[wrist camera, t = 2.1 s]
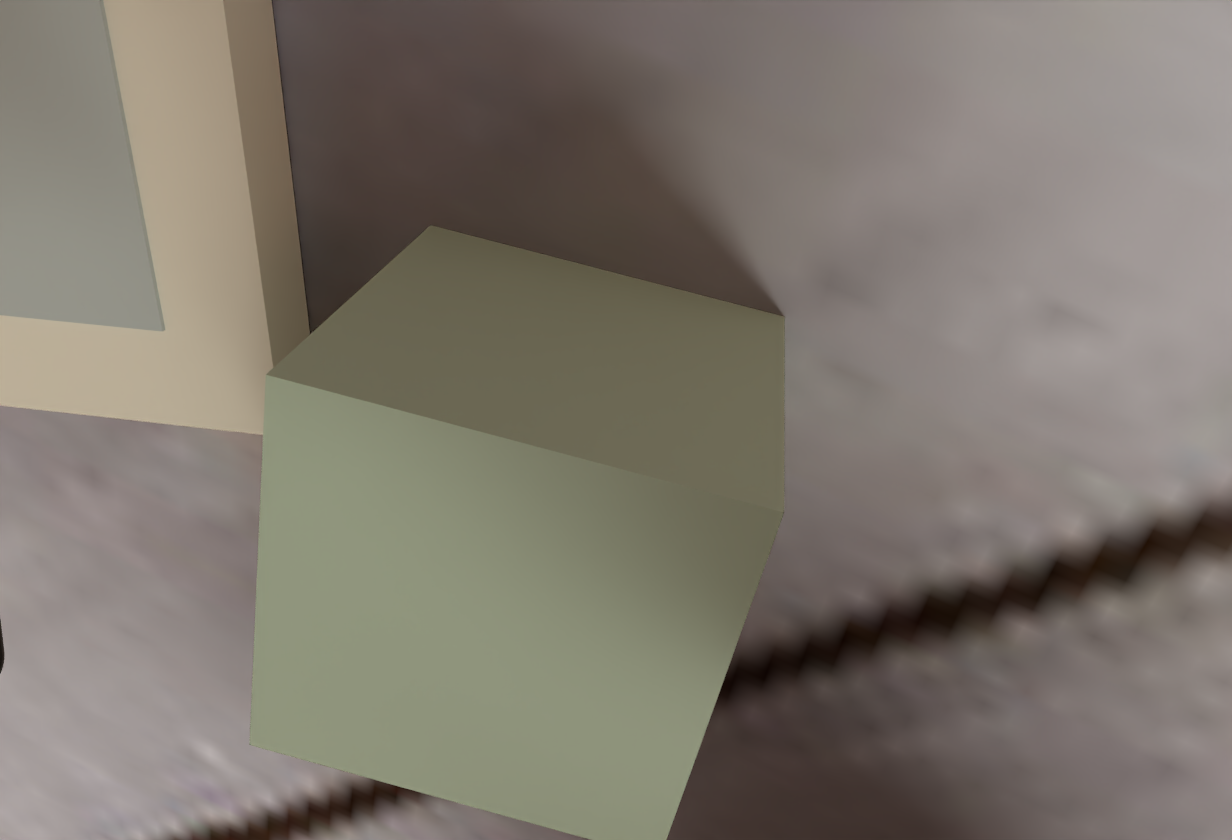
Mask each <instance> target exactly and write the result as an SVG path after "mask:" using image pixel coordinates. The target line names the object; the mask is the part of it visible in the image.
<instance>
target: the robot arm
mask: <svg viewBox="0 0 1232 840" xmlns="http://www.w3.org/2000/svg"><path fill="white" fill-rule="evenodd" d="M3 663H4V646H3V637H2V629H1V620H0V673H1V670H2V667H3Z"/></svg>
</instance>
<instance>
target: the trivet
mask: <svg viewBox="0 0 1232 840" xmlns="http://www.w3.org/2000/svg"><path fill="white" fill-rule="evenodd" d="M309 335H310V329H309V321H308V312H307V303H306V295H305V286H304V277H303V269H302V260H301V251H300V243H299V234H298V225H297V216H296V208H295V199H294V190H293V182H292V173H291V164H290V156H289V147H288V138H287V130H286V121H285V112H284V104H283V95H282V86H281V77H280V69H279V60H278V51H277V43H276V34H275V25H274V17H273V8H272V0H0V405H1V406H10V407H19V408H28V409H37V410H45V411H54V412H63V413H72V414H81V415H90V416H99V417H108V418H117V419H126V420H135V421H143V422H152V423H161V424H170V425H179V426H188V427H197V428H206V429H215V430H224V431H233V432H241V433H250V434H259V435H263V426H264V403H265V380H266V374H267V373H268V372H269V371H270V370H271V369H273V368H274V367H275V366H276V365H277V364H278V363H279V362H280V361H281V360H283V359H284V358H285V357H286V356H287V355H288V354H289V353H290V352H291V351H292V350H294V349H295V348H296V347H297V346H298V345H299V344H300V343H301V342H302V341H303V340H305V339H306V338H307V337H308V336H309Z"/></svg>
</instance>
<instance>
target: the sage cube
mask: <svg viewBox="0 0 1232 840" xmlns="http://www.w3.org/2000/svg"><path fill="white" fill-rule="evenodd" d="M784 379H785V317H784V316H780V315H776V314H772V313H768V312H765V311H761V310H757V309H753V308H749V307H745V306H741V305H737V304H734V303H730V302H726V301H722V300H718V299H714V298H710V297H707V296H703V295H699V294H695V293H691V292H687V291H683V290H679V289H676V288H672V287H668V286H664V285H660V284H656V283H652V282H649V281H645V280H641V279H637V278H633V277H629V276H625V275H621V274H618V273H614V272H610V271H606V270H602V269H598V268H594V267H590V266H587V265H583V264H579V263H575V262H571V261H567V260H563V259H560V258H556V257H552V256H548V255H544V254H540V253H536V252H532V251H529V250H525V249H521V248H517V247H513V246H509V245H505V244H502V243H498V242H494V241H490V240H486V239H482V238H478V237H474V236H471V235H467V234H463V233H459V232H455V231H451V230H447V229H444V228H440V227H436V226H432V225H430V226H429V227H428V228H427V229H426V230H425V231H424V232H423V233H421V234H420V235H419V236H418V237H417V238H416V239H415V240H414V241H413V242H412V243H410V244H409V245H408V246H407V247H406V248H405V249H404V250H403V251H402V252H401V253H399V254H398V255H397V256H396V257H395V258H394V259H393V260H392V261H391V262H389V263H388V264H387V265H386V266H385V267H384V268H383V269H382V270H381V271H380V272H378V273H377V274H376V275H375V276H374V277H373V278H372V279H371V280H370V281H369V282H367V283H366V284H365V285H364V286H363V287H362V288H361V289H360V290H359V291H357V292H356V293H355V294H354V295H353V296H352V297H351V298H350V299H349V300H348V301H346V302H345V303H344V304H343V305H342V306H341V307H340V308H339V309H338V310H337V311H335V312H334V313H333V314H332V315H331V316H330V317H329V318H328V319H327V320H326V321H324V322H323V323H322V324H321V325H320V326H319V327H318V328H317V329H316V330H314V331H313V332H312V333H311V334H310V335H309V336H308V337H307V338H306V339H305V340H303V341H302V342H301V343H300V344H299V345H298V346H297V347H296V348H295V349H294V350H292V351H291V352H290V353H289V354H288V355H287V356H286V357H285V358H284V359H283V360H281V361H280V362H279V363H278V364H277V365H276V366H275V367H274V368H273V369H271V370H270V371H269V372H268V373H267V374H266V380H265V403H264V426H263V449H262V471H261V494H260V517H259V540H258V563H257V585H256V608H255V631H254V654H253V677H252V699H251V722H250V745H252V746H255V747H259V748H263V749H266V750H270V751H273V752H277V753H281V754H284V755H288V756H291V757H295V758H299V759H302V760H306V761H309V762H313V763H317V764H320V765H324V766H327V767H331V768H335V769H338V770H342V771H345V772H349V773H352V774H356V775H360V776H363V777H367V778H370V779H374V780H378V781H381V782H385V783H388V784H392V785H396V786H399V787H403V788H406V789H410V790H414V791H417V792H421V793H424V794H428V795H432V796H435V797H439V798H442V799H446V800H449V801H453V802H457V803H460V804H464V805H467V806H471V807H475V808H478V809H482V810H485V811H489V812H493V813H496V814H500V815H503V816H507V817H511V818H514V819H518V820H521V821H525V822H529V823H532V824H536V825H539V826H543V827H547V828H550V829H554V830H557V831H561V832H564V833H568V834H572V835H575V836H579V837H582V838H586V839H590V840H666V839H667V837H668V834H669V831H670V828H671V826H672V823H673V820H674V817H675V814H676V812H677V809H678V806H679V803H680V801H681V798H682V795H683V792H684V789H685V787H686V784H687V781H688V778H689V776H690V773H691V770H692V767H693V764H694V762H695V759H696V756H697V753H698V751H699V748H700V745H701V742H702V739H703V737H704V734H705V731H706V728H707V726H708V723H709V720H710V717H711V714H712V712H713V709H714V706H715V703H716V701H717V698H718V695H719V692H720V689H721V687H722V684H723V681H724V678H725V676H726V673H727V670H728V667H729V664H730V662H731V659H732V656H733V653H734V651H735V648H736V645H737V642H738V639H739V637H740V634H741V631H742V628H743V626H744V623H745V620H746V617H747V614H748V612H749V609H750V606H751V603H752V601H753V598H754V595H755V592H756V589H757V587H758V584H759V581H760V578H761V576H762V573H763V570H764V567H765V564H766V562H767V559H768V556H769V553H770V550H771V548H772V545H773V542H774V539H775V537H776V534H777V531H778V528H779V525H780V523H781V520H782V517H783V514H784Z"/></svg>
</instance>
